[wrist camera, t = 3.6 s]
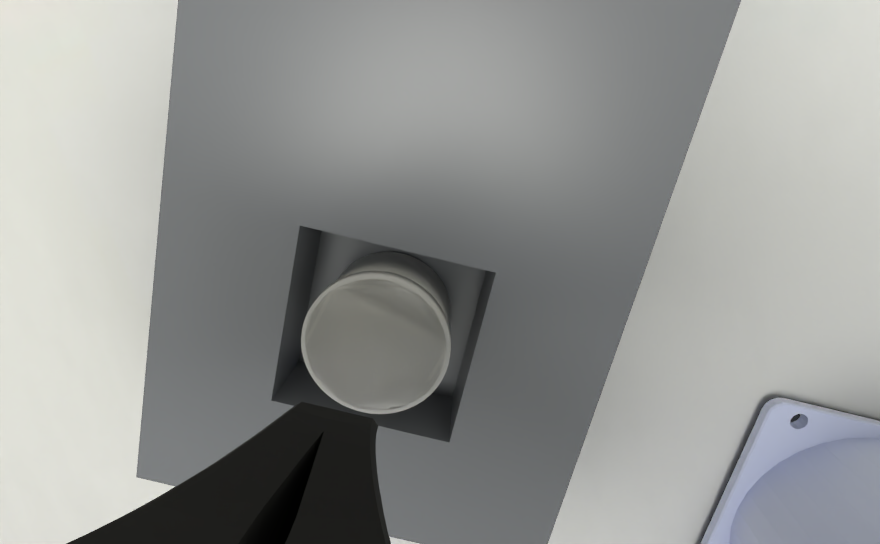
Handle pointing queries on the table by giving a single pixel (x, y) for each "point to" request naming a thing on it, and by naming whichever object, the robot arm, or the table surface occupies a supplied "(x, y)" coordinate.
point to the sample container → (379, 334)
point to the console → (418, 225)
